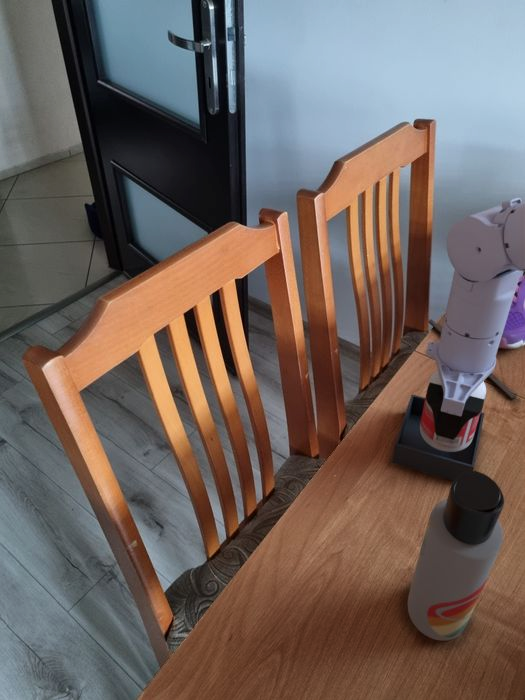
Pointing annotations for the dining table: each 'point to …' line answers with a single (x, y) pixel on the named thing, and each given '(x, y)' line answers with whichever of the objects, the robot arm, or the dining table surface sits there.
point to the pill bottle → (464, 435)
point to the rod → (489, 375)
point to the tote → (425, 457)
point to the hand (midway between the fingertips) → (450, 414)
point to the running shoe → (515, 319)
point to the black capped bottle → (456, 556)
